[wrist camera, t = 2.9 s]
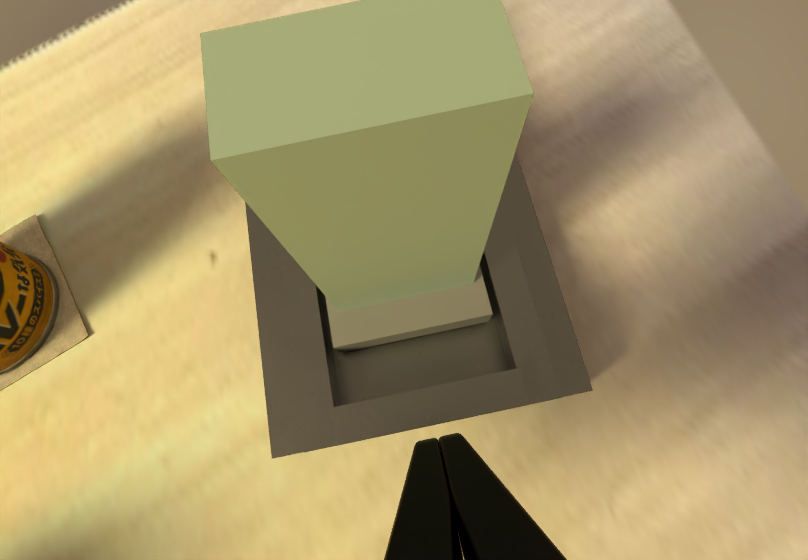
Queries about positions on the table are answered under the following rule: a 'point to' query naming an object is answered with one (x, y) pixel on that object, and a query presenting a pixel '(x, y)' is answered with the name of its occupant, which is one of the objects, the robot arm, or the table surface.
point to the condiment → (33, 303)
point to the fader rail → (414, 345)
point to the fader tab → (374, 151)
